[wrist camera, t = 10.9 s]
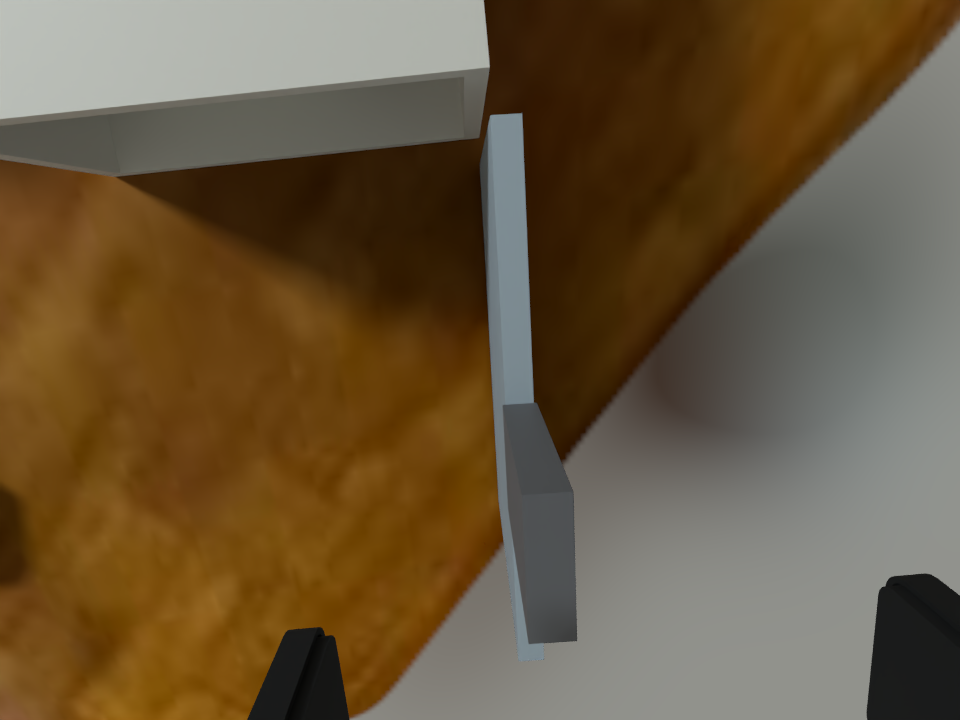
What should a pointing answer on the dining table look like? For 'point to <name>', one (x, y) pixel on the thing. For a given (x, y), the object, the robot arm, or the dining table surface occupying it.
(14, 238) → the dining table surface
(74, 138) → the carton
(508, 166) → the flap
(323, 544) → the dining table surface
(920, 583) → the robot arm
